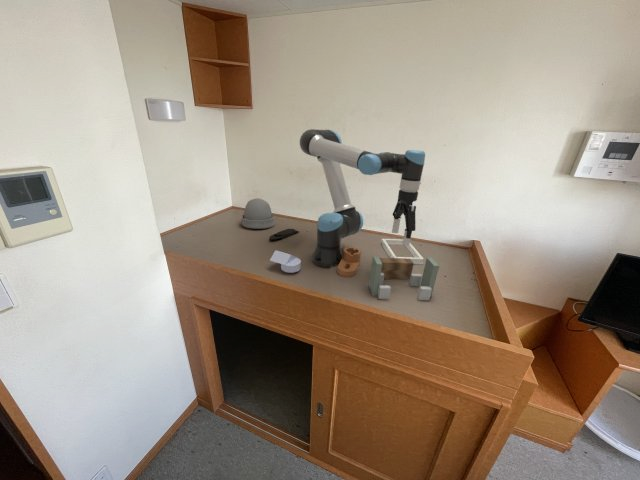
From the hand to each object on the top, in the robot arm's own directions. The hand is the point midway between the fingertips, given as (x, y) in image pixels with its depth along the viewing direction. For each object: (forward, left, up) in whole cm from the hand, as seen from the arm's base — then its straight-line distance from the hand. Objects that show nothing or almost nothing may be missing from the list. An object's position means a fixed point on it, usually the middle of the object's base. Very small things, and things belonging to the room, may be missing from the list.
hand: (400, 238), depth 118 cm
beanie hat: (-73, +54, -20) cm, 93 cm away
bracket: (-20, +4, -18) cm, 27 cm away
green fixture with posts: (-2, -15, -17) cm, 23 cm away
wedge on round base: (-55, +7, -14) cm, 57 cm away
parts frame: (+10, +22, -17) cm, 30 cm away
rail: (-2, -3, -17) cm, 18 cm away
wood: (-59, +42, -19) cm, 75 cm away
